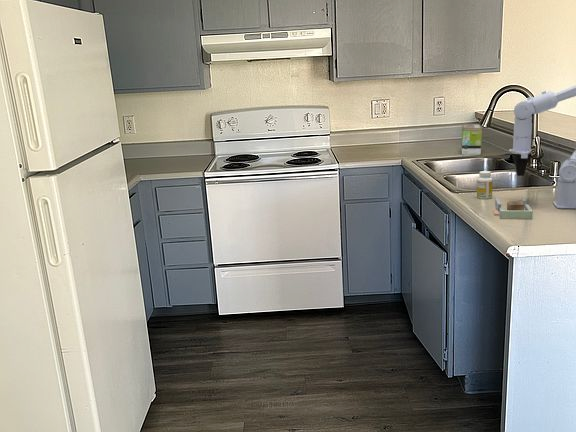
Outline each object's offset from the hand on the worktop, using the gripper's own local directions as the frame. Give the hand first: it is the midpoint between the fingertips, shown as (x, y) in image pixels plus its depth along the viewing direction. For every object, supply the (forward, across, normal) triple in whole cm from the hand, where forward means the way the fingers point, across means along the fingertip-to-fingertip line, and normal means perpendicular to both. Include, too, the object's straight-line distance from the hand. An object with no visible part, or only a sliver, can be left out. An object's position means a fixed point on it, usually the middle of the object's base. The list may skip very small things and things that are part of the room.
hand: (520, 175), depth 196 cm
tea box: (+10, -111, -10) cm, 112 cm away
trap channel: (+10, +12, -4) cm, 16 cm away
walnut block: (+10, +18, -3) cm, 21 cm away
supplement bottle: (+10, -8, -11) cm, 17 cm away
